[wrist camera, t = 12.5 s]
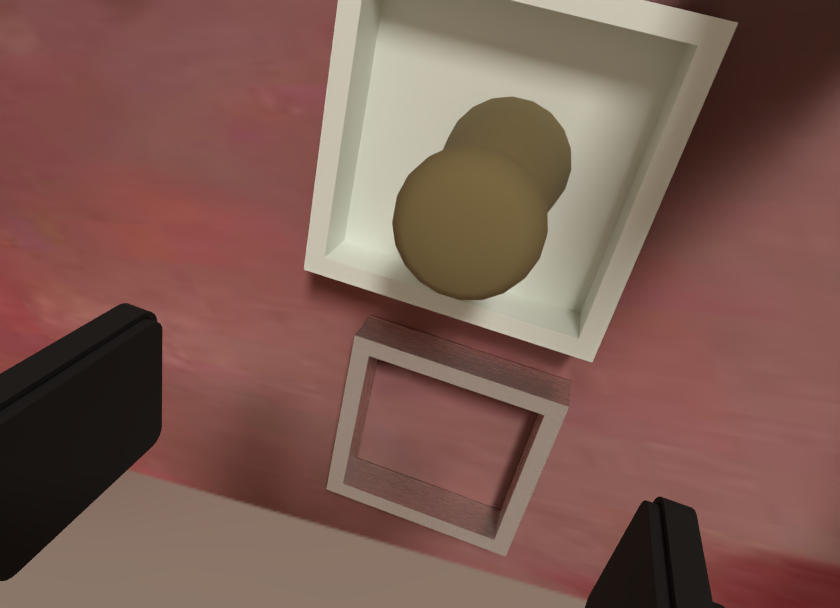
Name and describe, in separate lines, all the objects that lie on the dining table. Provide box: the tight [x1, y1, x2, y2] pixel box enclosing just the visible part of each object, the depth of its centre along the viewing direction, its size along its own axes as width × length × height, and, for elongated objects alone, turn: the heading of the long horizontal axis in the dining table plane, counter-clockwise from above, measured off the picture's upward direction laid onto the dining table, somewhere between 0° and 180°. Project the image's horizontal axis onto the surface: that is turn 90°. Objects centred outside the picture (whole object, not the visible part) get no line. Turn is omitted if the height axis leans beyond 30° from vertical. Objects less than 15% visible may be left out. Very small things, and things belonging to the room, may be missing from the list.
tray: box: [304, 0, 738, 362], centre depth 27 cm, size 15×15×4 cm
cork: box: [392, 96, 571, 300], centre depth 23 cm, size 6×6×11 cm
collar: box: [326, 315, 571, 556], centre depth 36 cm, size 12×12×2 cm
